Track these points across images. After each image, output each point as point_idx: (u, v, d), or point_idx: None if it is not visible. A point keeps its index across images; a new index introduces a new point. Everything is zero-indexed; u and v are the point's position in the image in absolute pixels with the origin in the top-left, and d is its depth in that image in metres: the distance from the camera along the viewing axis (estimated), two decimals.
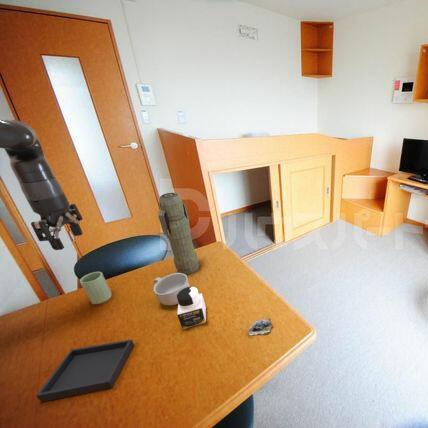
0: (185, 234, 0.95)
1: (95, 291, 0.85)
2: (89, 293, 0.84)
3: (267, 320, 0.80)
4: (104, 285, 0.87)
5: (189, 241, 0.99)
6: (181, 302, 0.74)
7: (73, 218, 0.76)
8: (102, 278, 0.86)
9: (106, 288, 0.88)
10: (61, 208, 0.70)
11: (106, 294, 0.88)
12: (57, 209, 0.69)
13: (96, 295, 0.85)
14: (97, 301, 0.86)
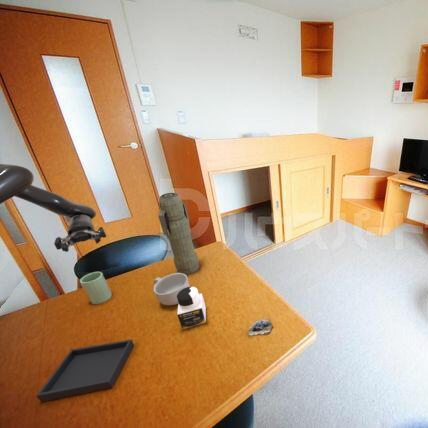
0: (185, 234, 0.95)
1: (95, 291, 0.85)
2: (89, 293, 0.84)
3: (267, 320, 0.80)
4: (104, 285, 0.87)
5: (189, 241, 0.99)
6: (181, 302, 0.74)
7: None
8: (102, 278, 0.86)
9: (106, 288, 0.88)
10: None
11: (106, 294, 0.88)
12: None
13: (96, 295, 0.85)
14: (97, 301, 0.86)
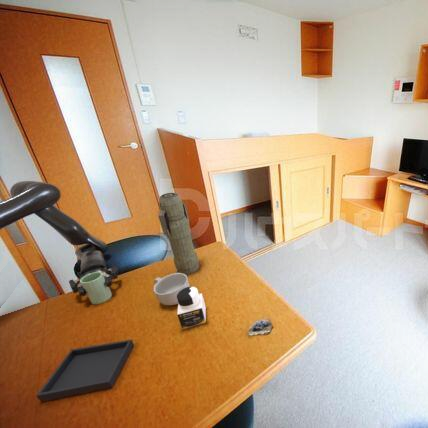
0: (185, 234, 0.95)
1: (95, 291, 0.85)
2: (89, 293, 0.84)
3: (267, 320, 0.80)
4: (104, 285, 0.87)
5: (189, 241, 0.99)
6: (181, 302, 0.74)
7: None
8: (102, 278, 0.86)
9: (106, 288, 0.88)
10: None
11: (106, 294, 0.88)
12: None
13: (96, 295, 0.85)
14: (97, 301, 0.86)
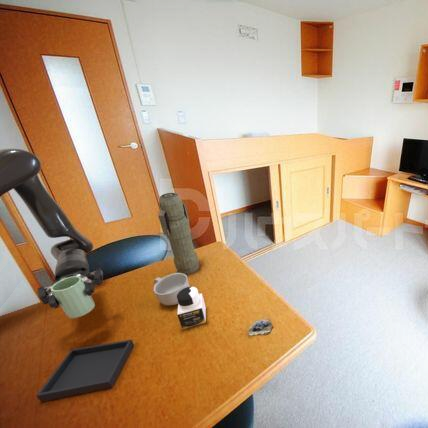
0: (185, 234, 0.95)
1: (72, 302, 0.65)
2: (63, 304, 0.64)
3: (267, 320, 0.80)
4: (84, 293, 0.67)
5: (189, 241, 0.99)
6: (181, 302, 0.74)
7: None
8: (81, 285, 0.66)
9: (87, 297, 0.68)
10: None
11: (87, 305, 0.68)
12: None
13: (73, 307, 0.65)
14: (75, 314, 0.66)
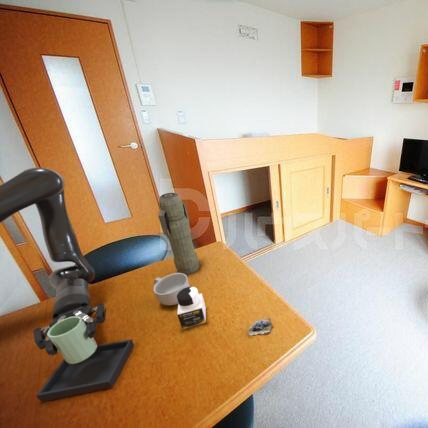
0: (185, 234, 0.95)
1: (71, 347, 0.58)
2: (62, 350, 0.57)
3: (267, 320, 0.80)
4: (85, 336, 0.60)
5: (189, 241, 0.99)
6: (181, 302, 0.74)
7: None
8: (81, 327, 0.59)
9: (88, 340, 0.61)
10: None
11: (88, 348, 0.61)
12: None
13: (73, 352, 0.58)
14: (75, 360, 0.59)
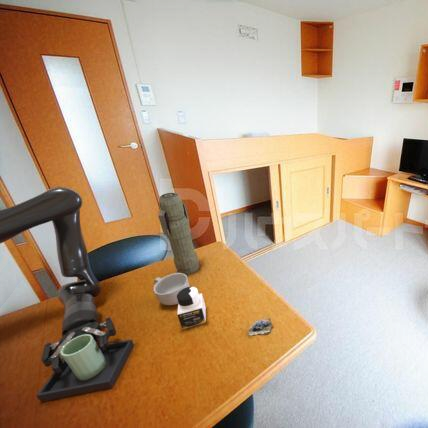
0: (185, 234, 0.95)
1: (83, 364, 0.61)
2: (74, 368, 0.60)
3: (267, 320, 0.80)
4: (95, 353, 0.63)
5: (189, 241, 0.99)
6: (181, 302, 0.74)
7: None
8: (92, 345, 0.62)
9: (98, 357, 0.64)
10: None
11: (98, 365, 0.64)
12: None
13: (84, 369, 0.61)
14: (85, 376, 0.62)
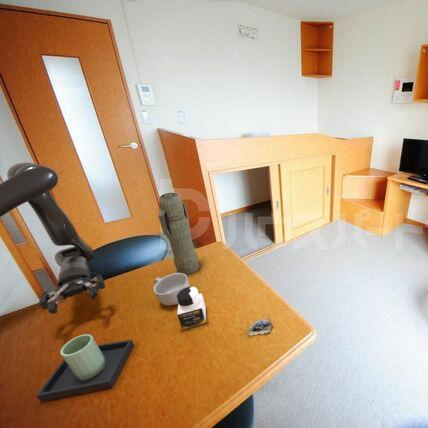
0: (185, 234, 0.95)
1: (83, 364, 0.61)
2: (74, 368, 0.60)
3: (267, 320, 0.80)
4: (95, 353, 0.63)
5: (189, 241, 0.99)
6: (181, 302, 0.74)
7: None
8: (92, 345, 0.62)
9: (98, 357, 0.64)
10: None
11: (98, 365, 0.64)
12: None
13: (84, 369, 0.61)
14: (85, 376, 0.62)
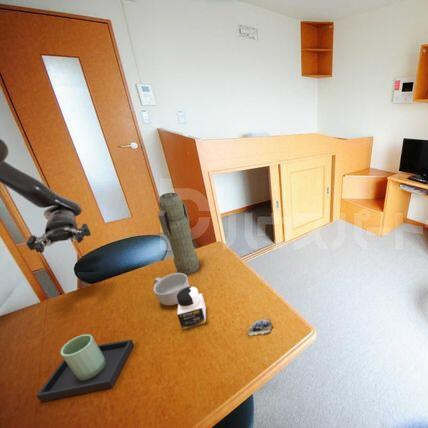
0: (185, 234, 0.95)
1: (83, 364, 0.61)
2: (74, 368, 0.60)
3: (267, 320, 0.80)
4: (95, 353, 0.63)
5: (189, 241, 0.99)
6: (181, 302, 0.74)
7: None
8: (92, 345, 0.62)
9: (98, 357, 0.64)
10: None
11: (98, 365, 0.64)
12: None
13: (84, 369, 0.61)
14: (85, 376, 0.62)
